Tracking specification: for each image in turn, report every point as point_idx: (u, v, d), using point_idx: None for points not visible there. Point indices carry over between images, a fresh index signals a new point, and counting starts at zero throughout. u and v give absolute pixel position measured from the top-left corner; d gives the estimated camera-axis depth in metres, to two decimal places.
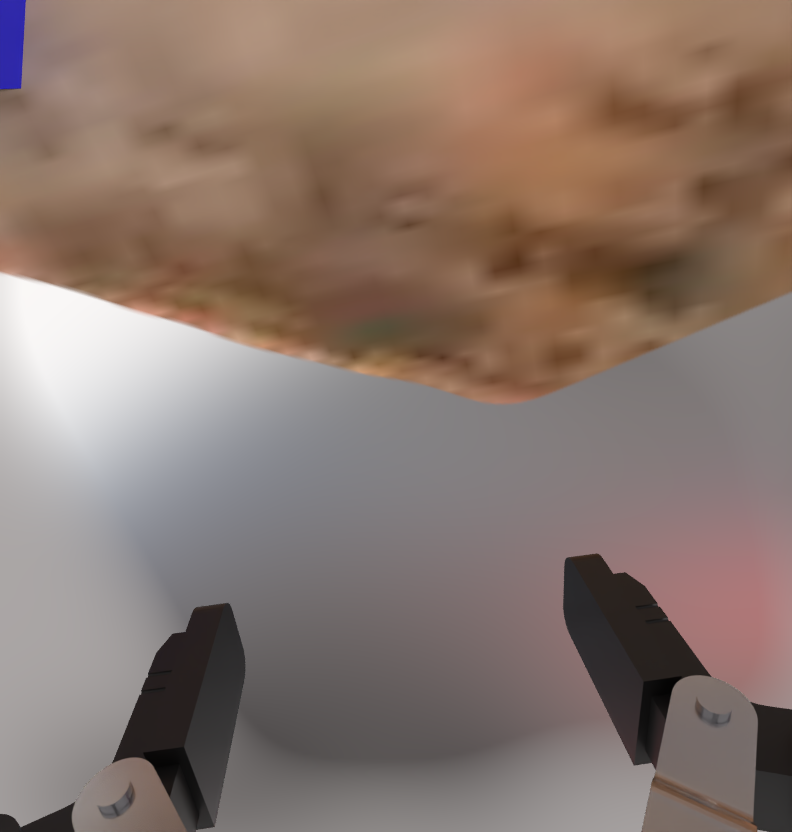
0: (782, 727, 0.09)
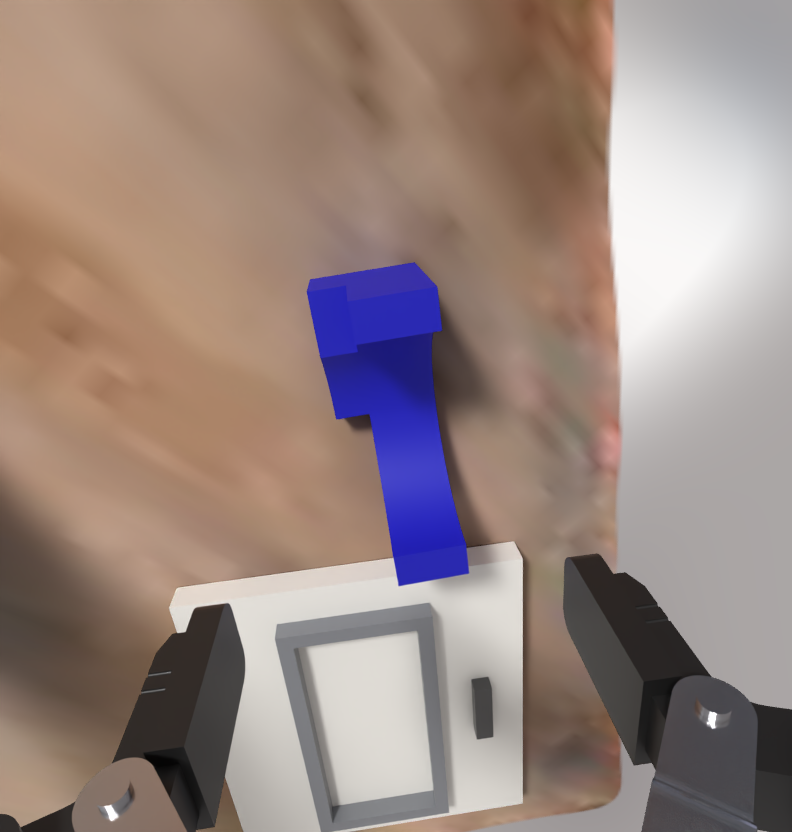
0: (782, 727, 0.09)
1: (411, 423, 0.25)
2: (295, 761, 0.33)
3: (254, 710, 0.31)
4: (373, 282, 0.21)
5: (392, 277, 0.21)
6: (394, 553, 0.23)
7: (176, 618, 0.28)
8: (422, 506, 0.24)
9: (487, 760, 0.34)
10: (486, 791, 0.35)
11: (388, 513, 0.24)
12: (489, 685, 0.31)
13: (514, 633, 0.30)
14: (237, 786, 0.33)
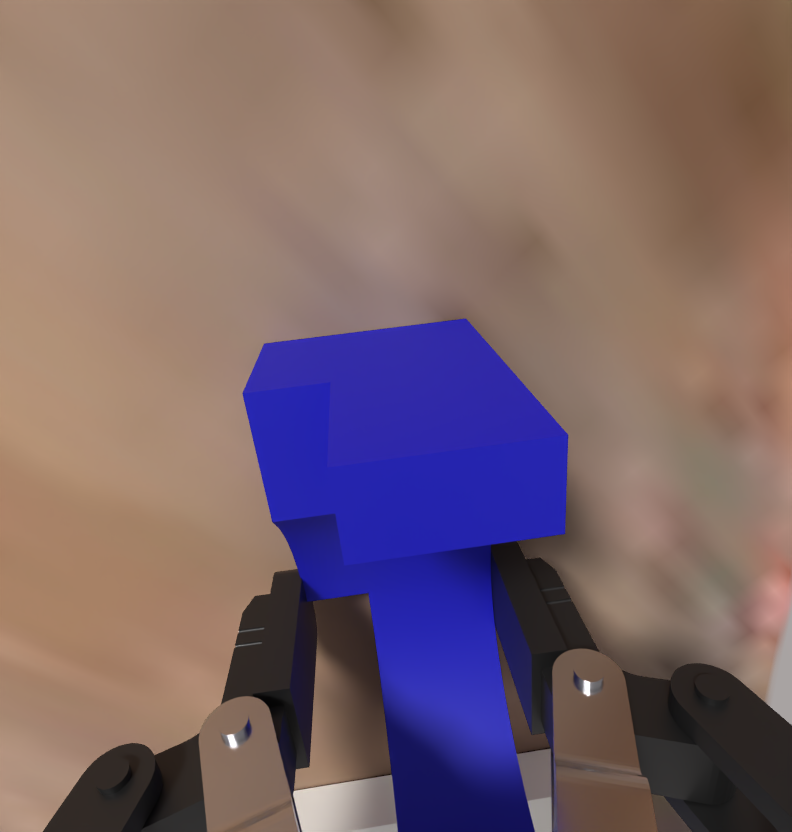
0: (653, 695, 0.10)
1: (444, 609, 0.14)
2: None
3: None
4: (391, 380, 0.09)
5: (432, 367, 0.10)
6: None
7: None
8: (460, 775, 0.13)
9: None
10: None
11: (397, 788, 0.13)
12: None
13: None
14: None
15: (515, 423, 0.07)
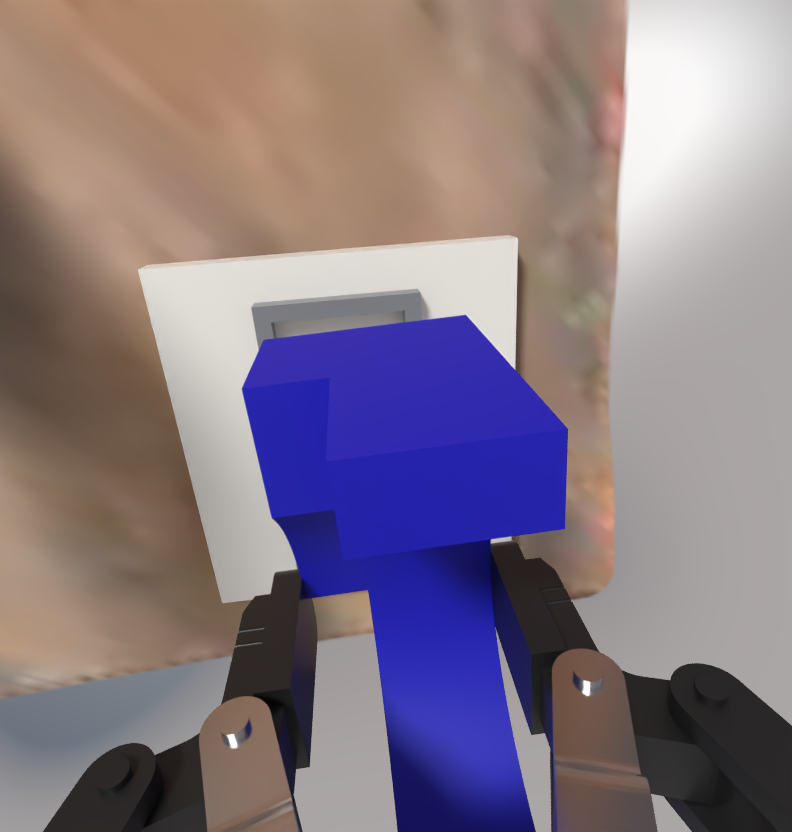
0: (653, 695, 0.10)
1: (444, 606, 0.14)
2: None
3: (229, 418, 0.29)
4: (391, 375, 0.09)
5: (432, 362, 0.10)
6: None
7: (146, 284, 0.26)
8: (460, 773, 0.13)
9: None
10: None
11: (396, 785, 0.13)
12: None
13: (507, 339, 0.29)
14: (210, 519, 0.31)
15: (515, 417, 0.07)
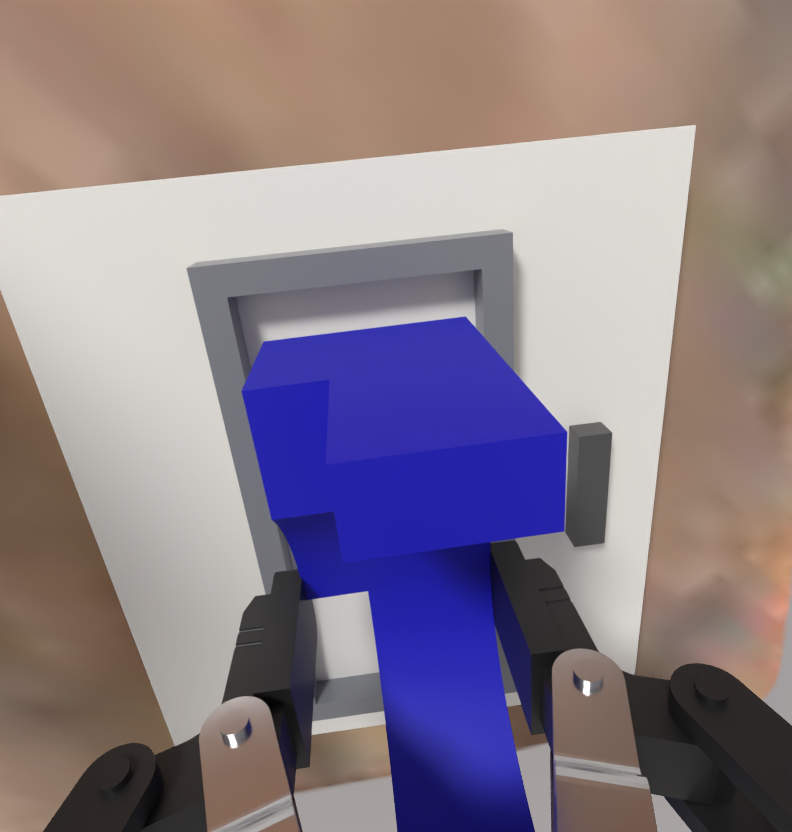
0: (653, 695, 0.10)
1: (444, 607, 0.14)
2: (249, 588, 0.18)
3: (166, 472, 0.16)
4: (391, 377, 0.09)
5: (432, 364, 0.10)
6: None
7: None
8: (460, 774, 0.13)
9: (583, 603, 0.20)
10: None
11: (396, 786, 0.13)
12: (606, 430, 0.17)
13: (658, 321, 0.16)
14: (148, 634, 0.19)
15: (514, 420, 0.07)
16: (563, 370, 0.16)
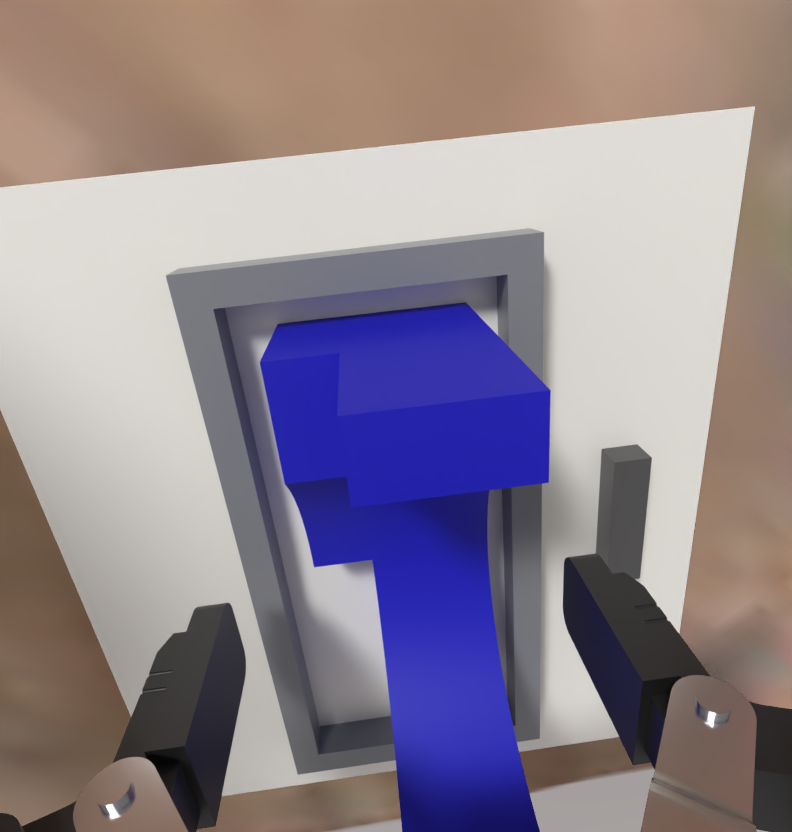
0: (781, 727, 0.09)
1: (443, 576, 0.14)
2: (243, 629, 0.17)
3: (149, 503, 0.15)
4: (395, 351, 0.10)
5: (433, 340, 0.11)
6: None
7: None
8: (457, 731, 0.14)
9: None
10: None
11: (397, 742, 0.14)
12: (644, 454, 0.15)
13: (705, 332, 0.14)
14: (132, 679, 0.17)
15: (505, 382, 0.08)
16: (596, 387, 0.14)
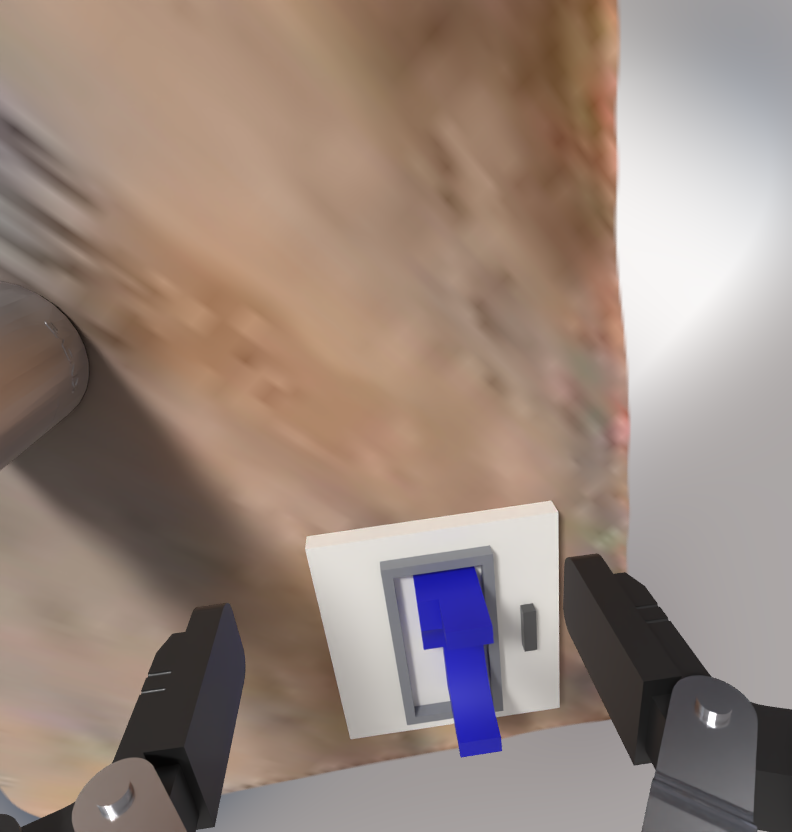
0: (782, 727, 0.09)
1: (468, 651, 0.41)
2: (388, 669, 0.44)
3: (360, 627, 0.42)
4: (454, 600, 0.37)
5: (464, 594, 0.38)
6: (459, 740, 0.39)
7: (309, 556, 0.39)
8: (474, 705, 0.41)
9: (532, 671, 0.45)
10: (531, 696, 0.46)
11: (454, 708, 0.41)
12: (534, 608, 0.42)
13: (552, 569, 0.41)
14: (344, 688, 0.44)
15: (482, 620, 0.35)
16: (516, 586, 0.41)
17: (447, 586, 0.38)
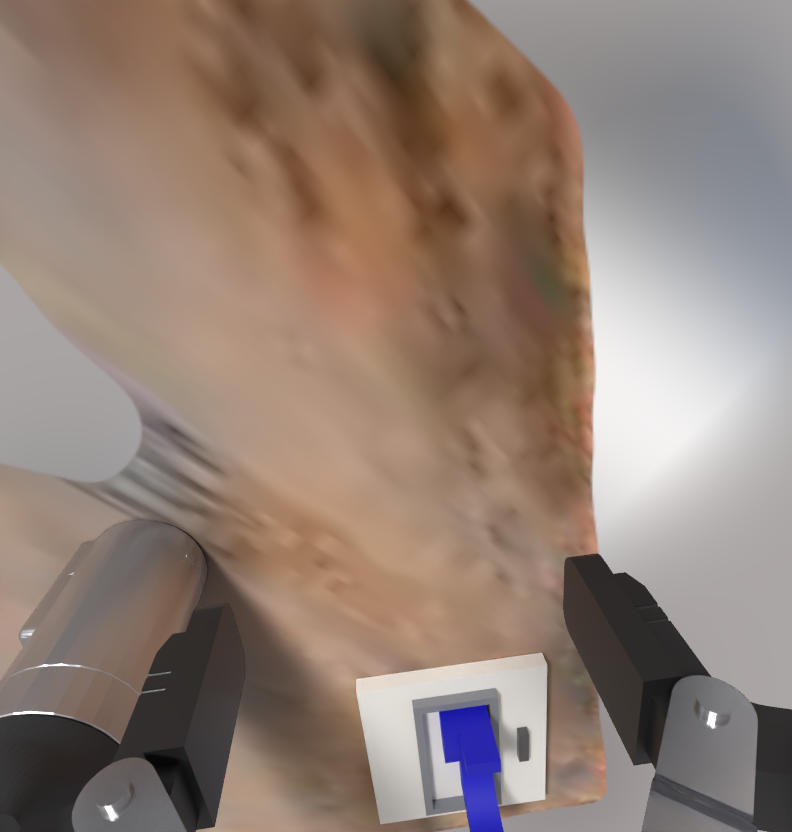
0: (782, 727, 0.09)
1: None
2: (413, 773, 0.56)
3: (394, 745, 0.54)
4: (471, 734, 0.50)
5: (478, 729, 0.50)
6: None
7: (359, 697, 0.51)
8: (483, 806, 0.53)
9: (524, 773, 0.58)
10: (523, 791, 0.59)
11: (468, 809, 0.53)
12: (527, 732, 0.54)
13: (541, 703, 0.54)
14: (378, 787, 0.57)
15: (493, 755, 0.48)
16: (514, 715, 0.54)
17: (465, 721, 0.51)
